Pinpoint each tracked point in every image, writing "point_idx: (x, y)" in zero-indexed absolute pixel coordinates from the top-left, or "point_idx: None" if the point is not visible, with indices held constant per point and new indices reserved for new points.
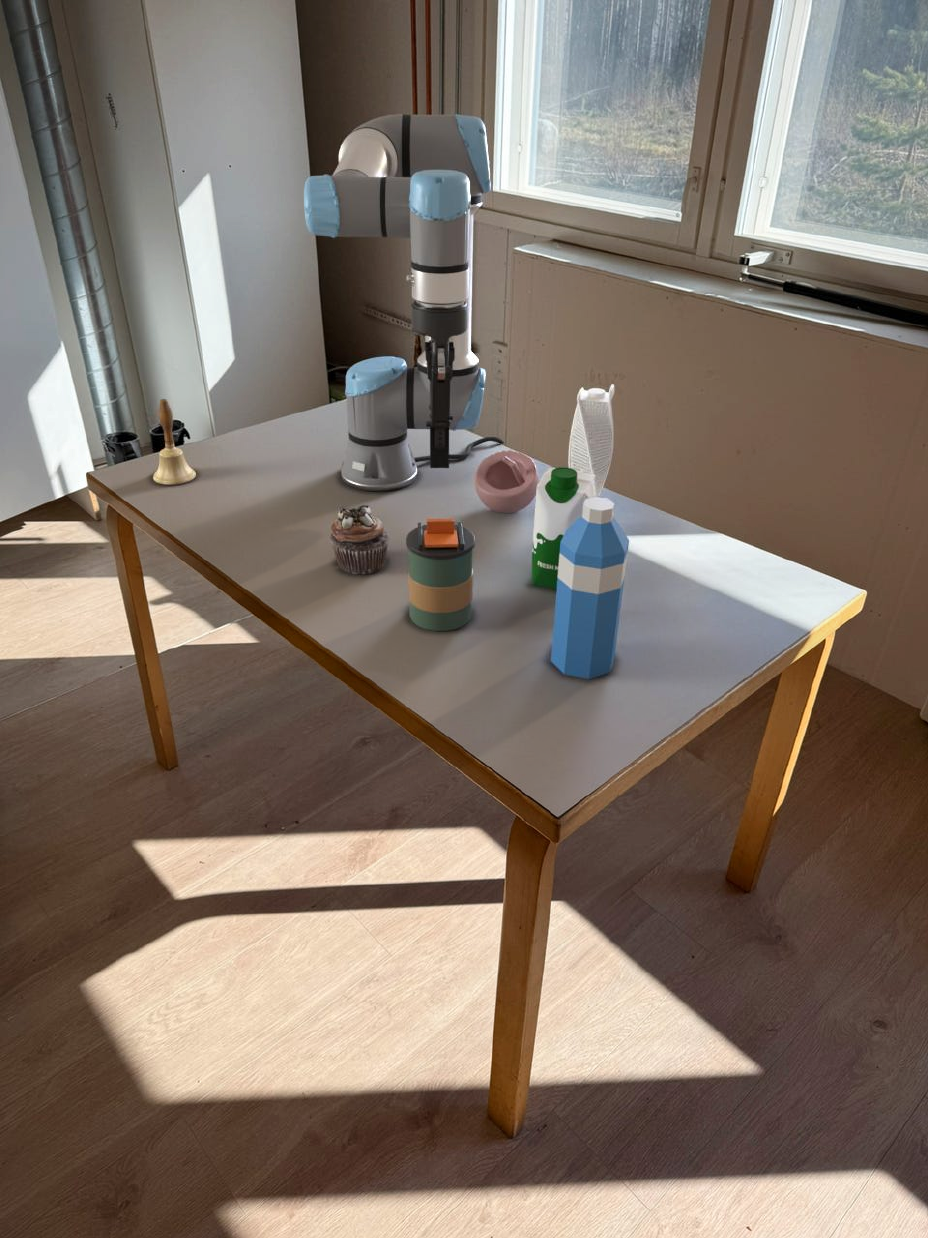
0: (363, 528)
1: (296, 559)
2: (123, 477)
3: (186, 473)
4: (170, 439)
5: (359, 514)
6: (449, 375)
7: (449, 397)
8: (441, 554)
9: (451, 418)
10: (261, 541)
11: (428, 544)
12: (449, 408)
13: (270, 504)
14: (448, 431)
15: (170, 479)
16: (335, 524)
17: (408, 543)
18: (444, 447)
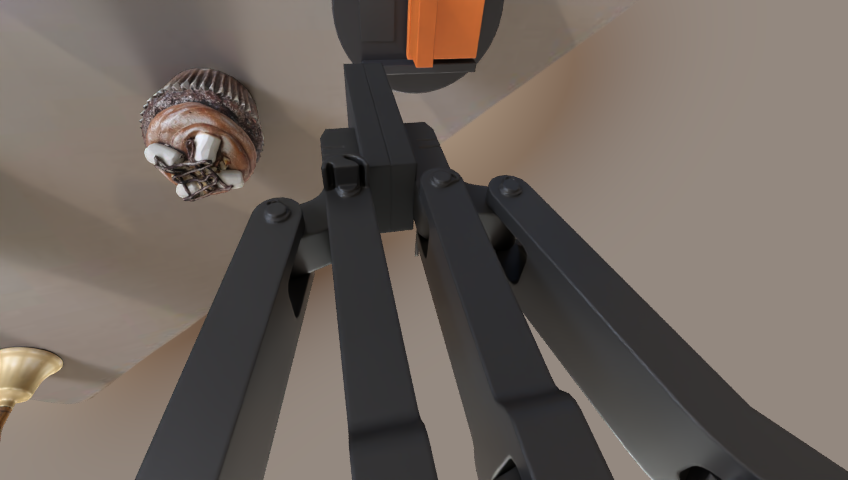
0: (233, 148)
1: (227, 198)
2: (67, 388)
3: (23, 358)
4: (3, 414)
5: (203, 167)
6: (834, 470)
7: (651, 308)
8: (500, 13)
9: (368, 166)
10: (184, 244)
11: (476, 49)
12: (595, 252)
13: (45, 260)
14: (411, 148)
15: (52, 362)
16: (221, 192)
17: (437, 88)
18: (428, 127)
